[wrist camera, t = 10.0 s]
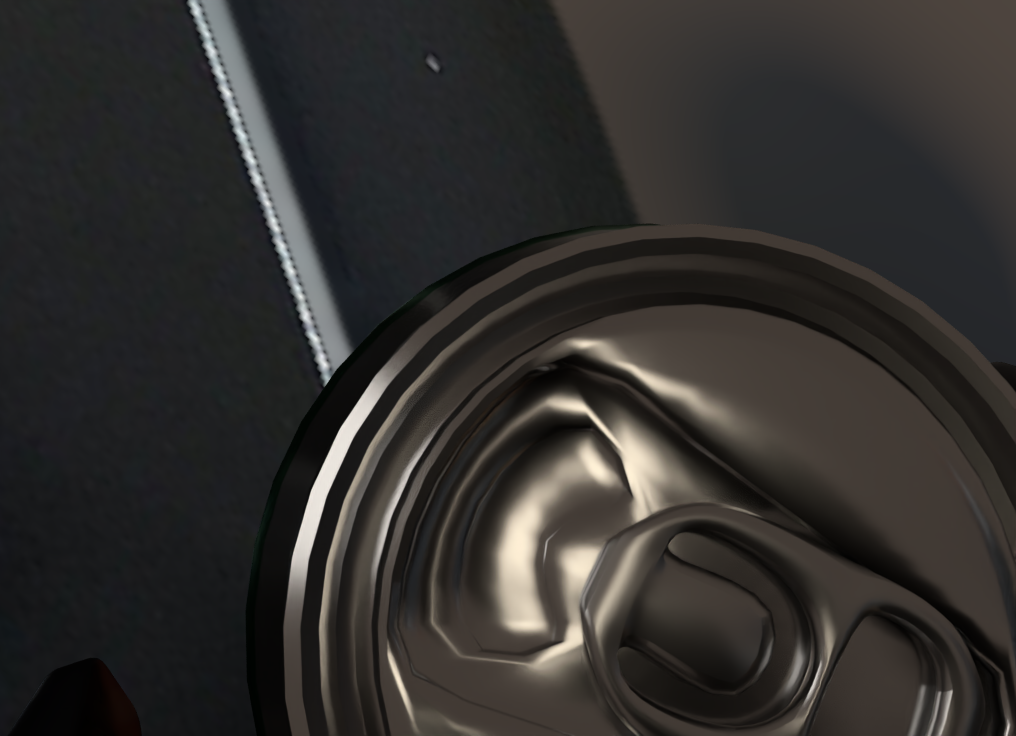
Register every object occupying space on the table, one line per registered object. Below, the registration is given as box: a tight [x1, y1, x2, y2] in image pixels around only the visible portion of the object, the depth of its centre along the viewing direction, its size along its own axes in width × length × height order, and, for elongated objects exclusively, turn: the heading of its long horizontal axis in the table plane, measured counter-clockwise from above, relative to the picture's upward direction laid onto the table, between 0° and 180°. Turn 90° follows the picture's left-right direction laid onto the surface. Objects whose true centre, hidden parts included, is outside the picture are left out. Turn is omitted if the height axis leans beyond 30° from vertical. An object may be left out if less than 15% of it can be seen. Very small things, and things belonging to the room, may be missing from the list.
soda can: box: [246, 224, 1016, 736], centre depth 10 cm, size 5×5×12 cm
